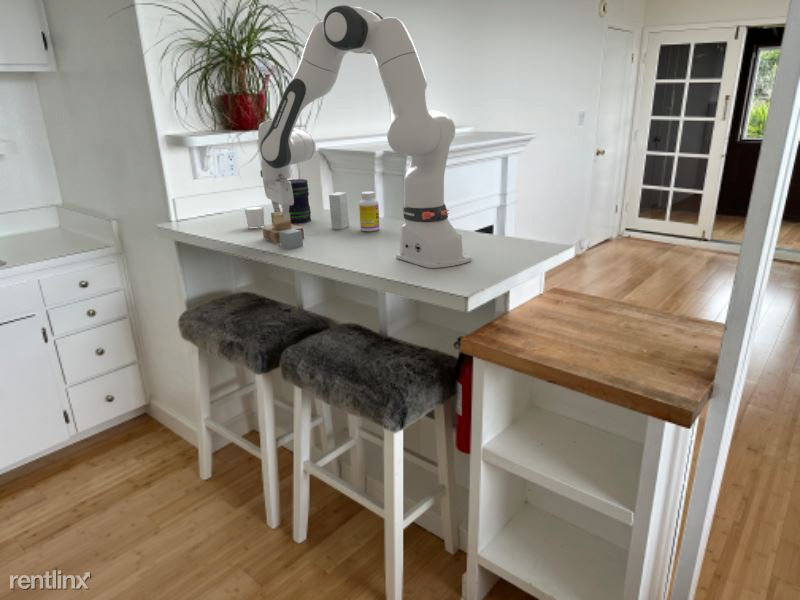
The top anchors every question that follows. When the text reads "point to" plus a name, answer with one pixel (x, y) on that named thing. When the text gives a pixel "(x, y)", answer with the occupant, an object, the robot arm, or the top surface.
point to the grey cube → (290, 238)
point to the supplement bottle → (369, 212)
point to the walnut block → (277, 233)
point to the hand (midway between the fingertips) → (281, 215)
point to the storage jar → (300, 202)
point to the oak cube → (280, 221)
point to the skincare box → (339, 210)
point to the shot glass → (255, 216)
